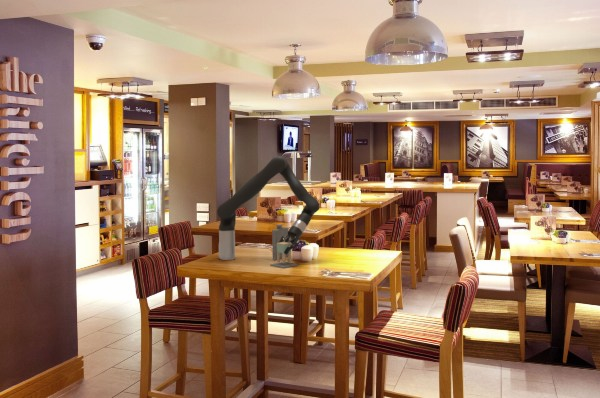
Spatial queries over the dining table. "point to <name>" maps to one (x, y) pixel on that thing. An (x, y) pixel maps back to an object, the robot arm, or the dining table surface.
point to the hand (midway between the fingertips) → (281, 252)
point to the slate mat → (284, 265)
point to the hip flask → (278, 239)
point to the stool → (281, 248)
